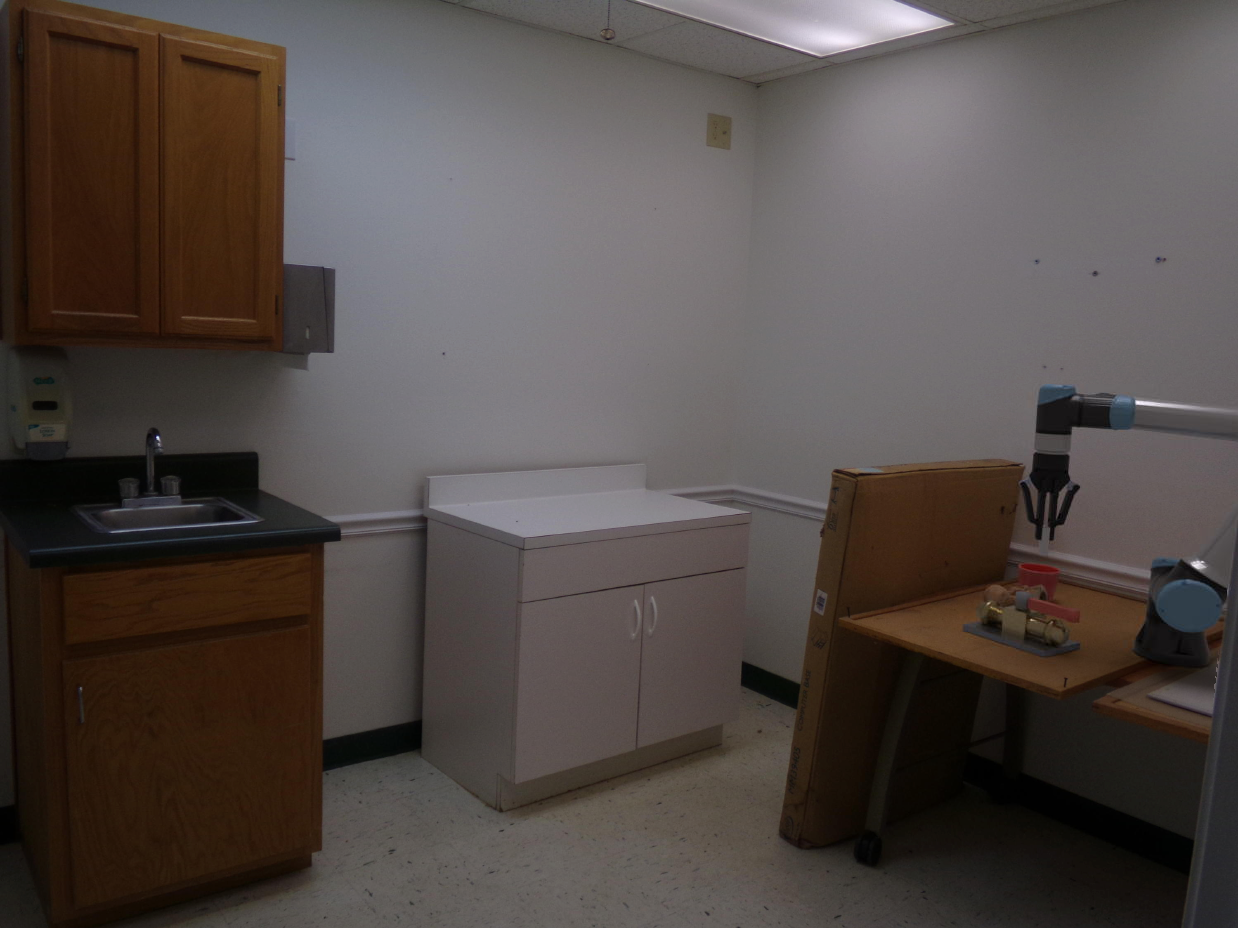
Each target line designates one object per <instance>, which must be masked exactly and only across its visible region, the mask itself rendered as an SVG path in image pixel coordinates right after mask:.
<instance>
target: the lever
mask: <svg viewBox="0 0 1238 928" xmlns="http://www.w3.org/2000/svg"><path fill="white" fill-rule="evenodd" d="M1015 608H1017V609H1021V610H1034V611H1037V612H1041V613H1044V614H1047V616H1050V617H1053V618H1056V619H1060V620H1065V621H1067V622H1068V623H1073V624H1079V623H1080V620H1081V619H1080V617H1081V610H1080V609H1076V608H1071V607H1067V606H1064V605H1060V604H1057V603H1054V602H1051V603H1050V602H1046V601H1043V600H1039V599H1036V598H1032V594H1031V593H1028V592H1016V599H1015Z"/></svg>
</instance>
